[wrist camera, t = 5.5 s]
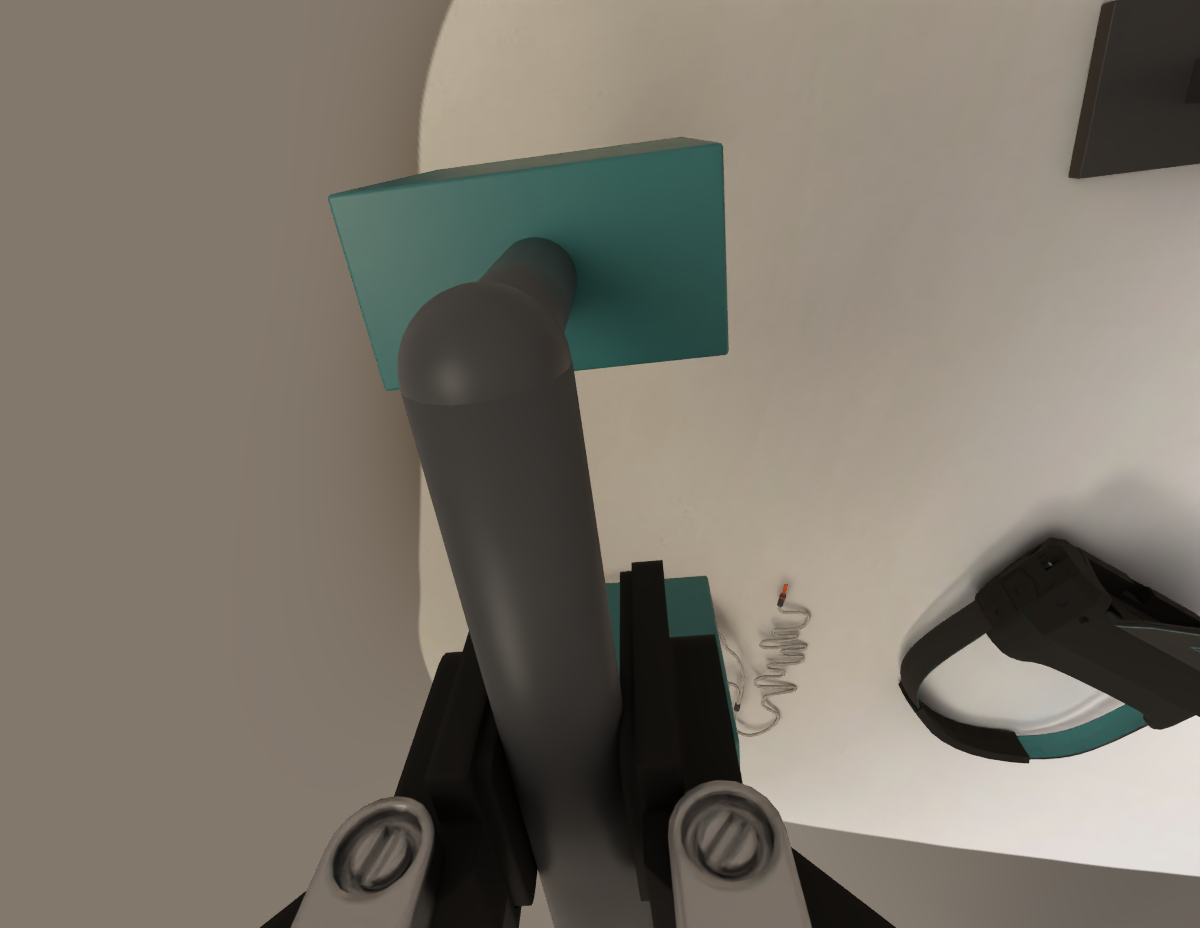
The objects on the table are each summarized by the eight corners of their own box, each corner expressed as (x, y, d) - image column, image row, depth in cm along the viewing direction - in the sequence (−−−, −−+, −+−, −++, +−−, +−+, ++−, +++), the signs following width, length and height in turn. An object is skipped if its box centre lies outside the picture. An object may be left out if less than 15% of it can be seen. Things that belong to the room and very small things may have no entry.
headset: (435, 170, 14) (59, 256, 5) (684, 136, 14) (825, 156, 4) (543, 658, 21) (479, 1093, 12) (711, 647, 21) (787, 1089, 11)
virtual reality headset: (1253, 600, 47) (1373, 725, 39) (1007, 733, 59) (1059, 848, 51) (1070, 493, 43) (1160, 606, 35) (848, 658, 55) (876, 771, 47)
